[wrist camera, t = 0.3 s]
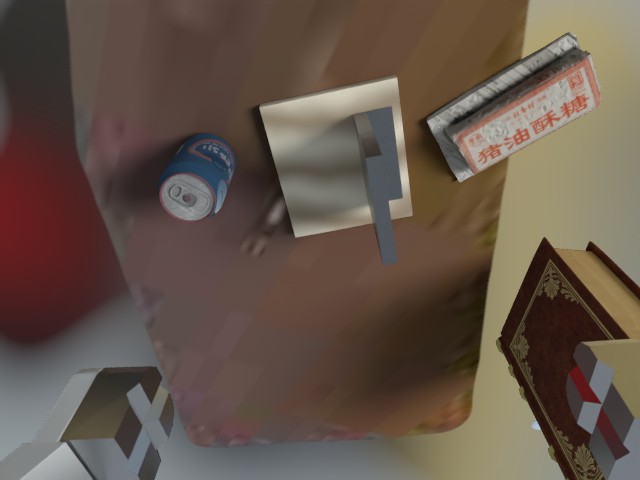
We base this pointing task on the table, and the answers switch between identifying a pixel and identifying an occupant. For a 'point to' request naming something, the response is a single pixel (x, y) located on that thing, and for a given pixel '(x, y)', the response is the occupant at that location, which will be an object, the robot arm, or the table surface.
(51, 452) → the robot arm
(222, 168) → the soda can
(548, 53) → the packaged product
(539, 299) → the decorative book
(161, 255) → the table surface
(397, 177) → the bookend
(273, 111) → the shelf plank
